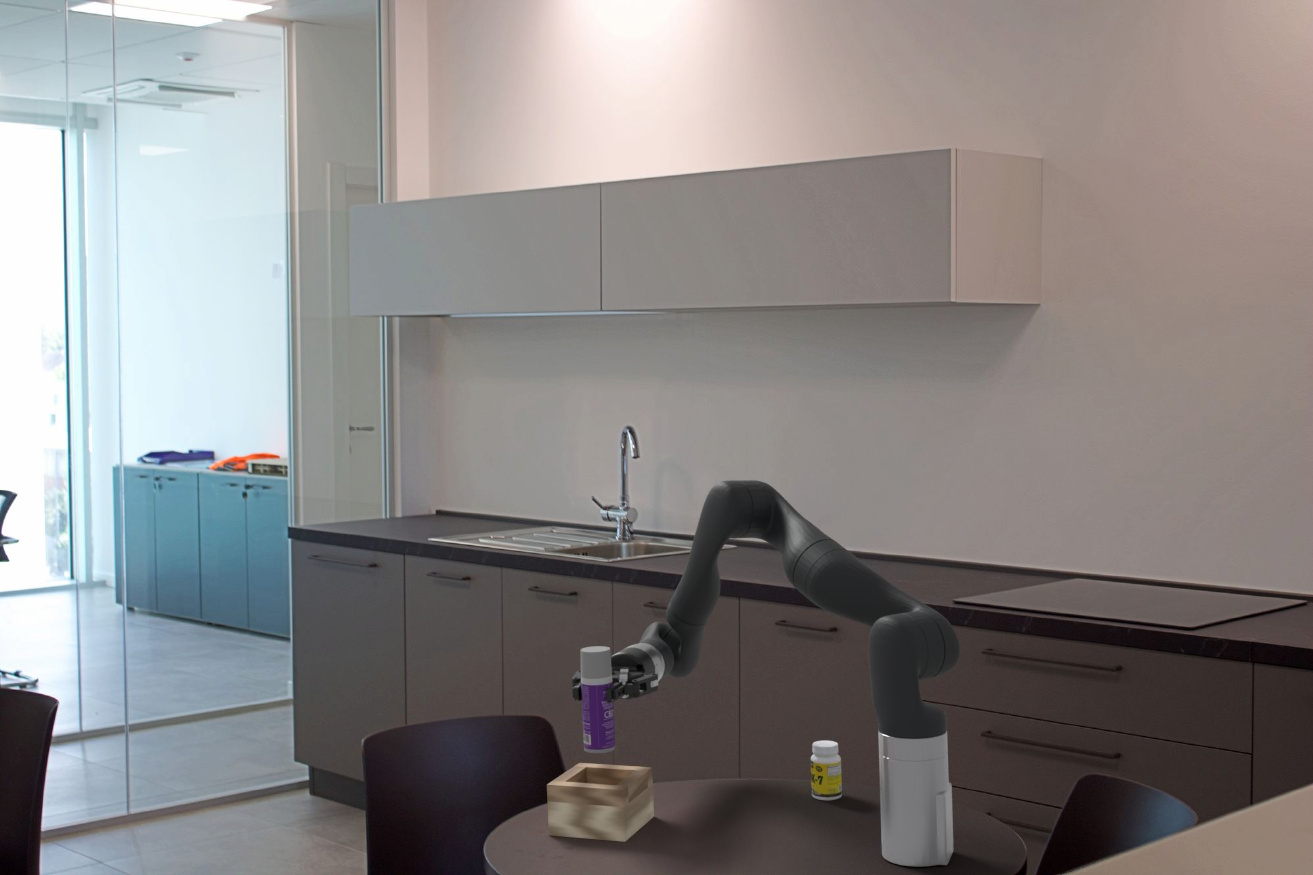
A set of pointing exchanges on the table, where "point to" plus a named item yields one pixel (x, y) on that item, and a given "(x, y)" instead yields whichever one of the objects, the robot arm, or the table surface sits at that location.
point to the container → (597, 700)
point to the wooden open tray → (600, 801)
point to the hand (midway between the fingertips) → (592, 694)
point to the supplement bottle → (826, 771)
